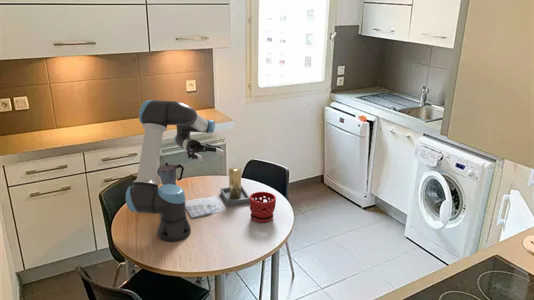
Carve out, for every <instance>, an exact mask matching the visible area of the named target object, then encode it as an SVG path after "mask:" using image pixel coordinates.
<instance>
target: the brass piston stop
mask: <svg viewBox="0 0 534 300" xmlns="http://www.w3.org/2000/svg"><path fill="white" fill-rule="evenodd" d="M228 183H229V184H228V186H229V196H230V198H232V199H239V198H240V197H241V186H242V171H241V168H240V167H235V166H234V167H230V168H229V169H228Z"/></svg>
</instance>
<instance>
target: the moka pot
mask: <svg viewBox="0 0 534 300" xmlns="http://www.w3.org/2000/svg"><path fill="white" fill-rule="evenodd" d="M177 169H180V174H179V175H180V176H179V178H177ZM184 170H185V168H184V166H183V165H182V164H169V163H168V162H164V164H163V165H160V166H158V170H157V176H159V177H160V181H161V183H162V185H167V184H173V185H177V181H181V180H182V178H183V174H184Z"/></svg>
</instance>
